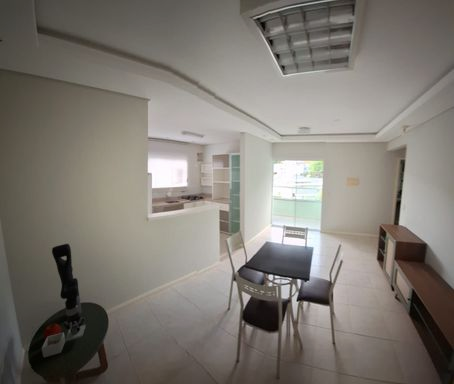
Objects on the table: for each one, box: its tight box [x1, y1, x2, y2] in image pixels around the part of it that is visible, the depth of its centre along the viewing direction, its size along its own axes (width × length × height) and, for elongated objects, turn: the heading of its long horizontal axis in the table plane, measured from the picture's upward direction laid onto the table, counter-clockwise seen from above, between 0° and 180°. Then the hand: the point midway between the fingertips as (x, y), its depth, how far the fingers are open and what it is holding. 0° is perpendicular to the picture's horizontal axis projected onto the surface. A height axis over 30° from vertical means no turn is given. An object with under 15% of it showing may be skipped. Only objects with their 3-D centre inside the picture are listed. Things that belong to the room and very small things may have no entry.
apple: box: [42, 323, 62, 341], centre depth 162 cm, size 11×11×11 cm
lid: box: [65, 324, 86, 342], centre depth 159 cm, size 11×11×7 cm
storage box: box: [41, 332, 66, 358], centre depth 152 cm, size 10×10×8 cm
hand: (75, 331), depth 159 cm, fingers closed on lid, 3 cm apart
